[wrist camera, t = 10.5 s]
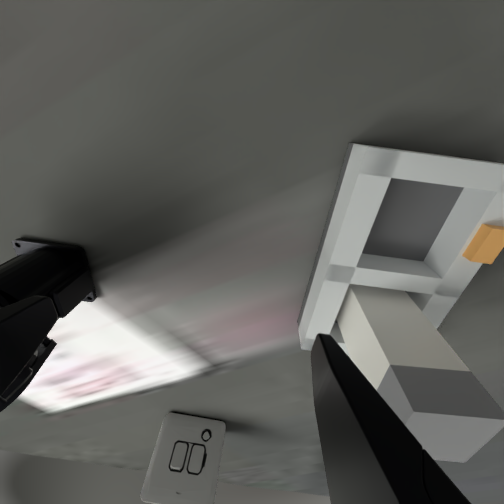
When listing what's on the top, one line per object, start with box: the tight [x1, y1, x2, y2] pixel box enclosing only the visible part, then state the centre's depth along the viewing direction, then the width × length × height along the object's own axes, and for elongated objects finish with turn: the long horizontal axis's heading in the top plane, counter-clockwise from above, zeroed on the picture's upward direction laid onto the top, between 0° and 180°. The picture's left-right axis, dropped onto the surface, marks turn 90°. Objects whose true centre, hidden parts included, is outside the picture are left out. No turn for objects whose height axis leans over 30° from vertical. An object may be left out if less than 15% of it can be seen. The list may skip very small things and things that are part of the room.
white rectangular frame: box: [297, 143, 504, 355], centre depth 19 cm, size 10×18×4 cm, turn 173°
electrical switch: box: [141, 412, 226, 504], centre depth 33 cm, size 9×5×9 cm, turn 79°
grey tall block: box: [336, 284, 504, 463], centre depth 17 cm, size 4×4×11 cm
